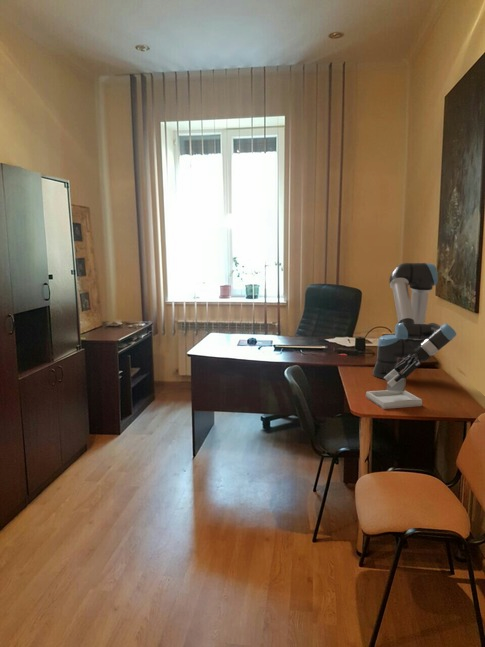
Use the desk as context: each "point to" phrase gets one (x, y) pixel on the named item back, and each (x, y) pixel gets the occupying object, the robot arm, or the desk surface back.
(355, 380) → the desk surface
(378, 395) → the tray
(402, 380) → the ceramic mug
